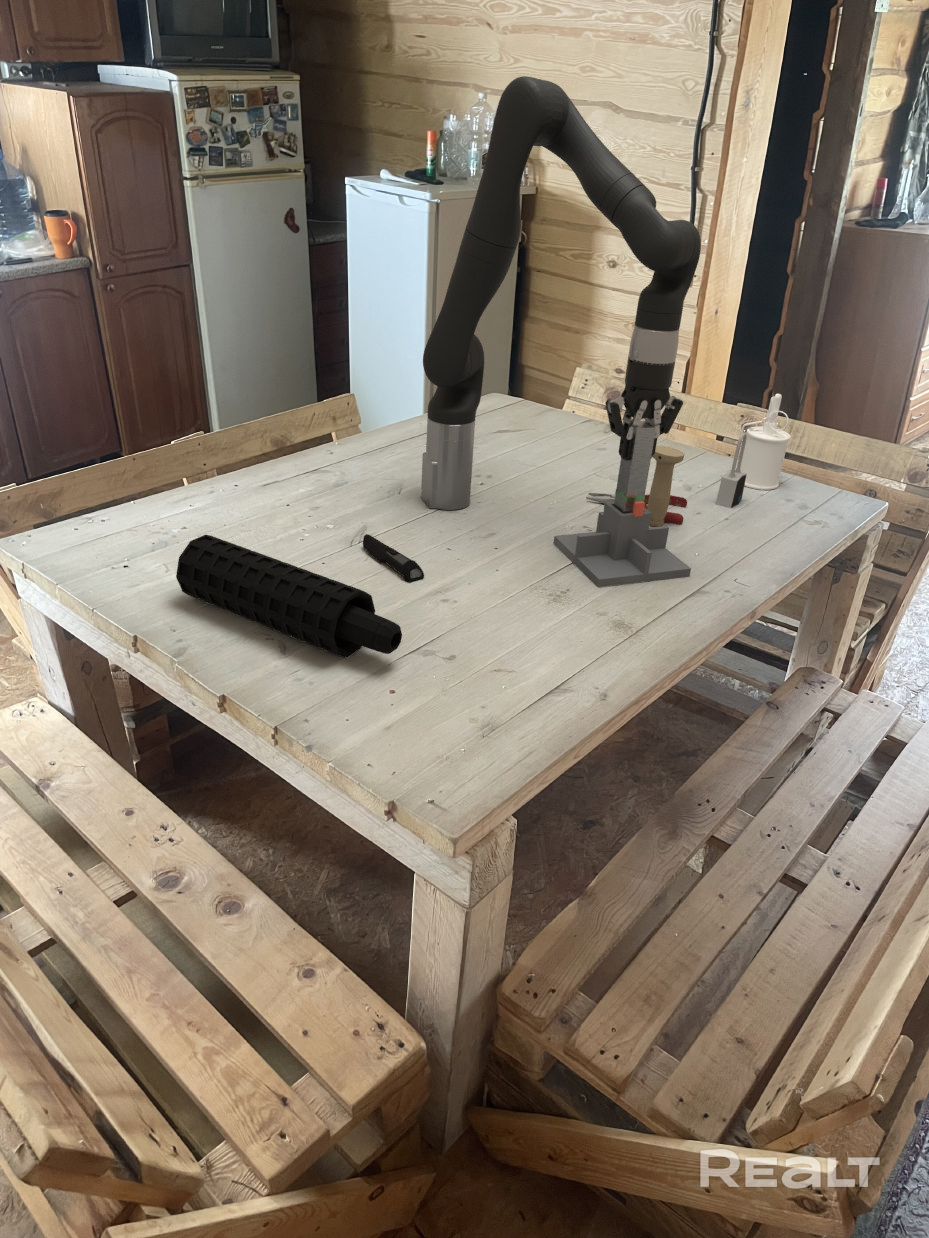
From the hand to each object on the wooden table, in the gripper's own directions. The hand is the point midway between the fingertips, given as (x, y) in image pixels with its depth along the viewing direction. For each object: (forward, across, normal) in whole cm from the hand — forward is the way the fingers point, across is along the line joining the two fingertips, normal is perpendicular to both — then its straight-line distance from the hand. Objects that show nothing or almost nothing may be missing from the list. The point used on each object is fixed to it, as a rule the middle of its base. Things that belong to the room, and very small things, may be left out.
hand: (635, 457), depth 153 cm
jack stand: (+19, 0, 0) cm, 19 cm away
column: (+11, 0, 0) cm, 11 cm away
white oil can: (+19, -50, -29) cm, 61 cm away
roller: (+20, +61, +10) cm, 65 cm away
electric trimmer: (+20, +41, -7) cm, 46 cm away
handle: (+19, -15, -13) cm, 28 cm away
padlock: (+19, -37, -20) cm, 46 cm away
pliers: (+20, -17, -22) cm, 34 cm away
